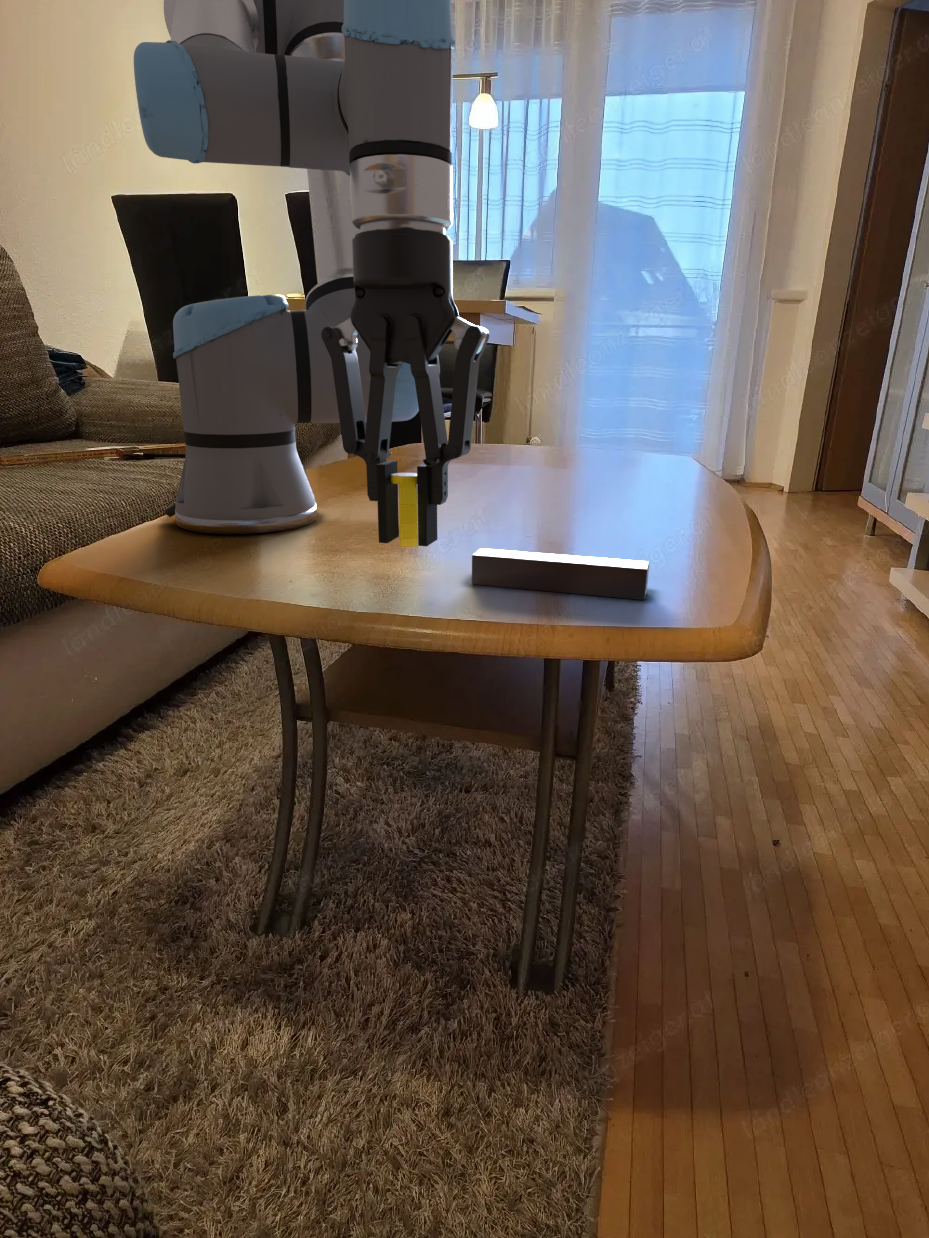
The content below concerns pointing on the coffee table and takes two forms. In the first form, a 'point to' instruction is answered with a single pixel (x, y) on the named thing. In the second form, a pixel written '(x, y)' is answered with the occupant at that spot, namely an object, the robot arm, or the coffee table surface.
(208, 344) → the robot arm
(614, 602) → the coffee table surface
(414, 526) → the yellow capped peg
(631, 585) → the walnut stick
